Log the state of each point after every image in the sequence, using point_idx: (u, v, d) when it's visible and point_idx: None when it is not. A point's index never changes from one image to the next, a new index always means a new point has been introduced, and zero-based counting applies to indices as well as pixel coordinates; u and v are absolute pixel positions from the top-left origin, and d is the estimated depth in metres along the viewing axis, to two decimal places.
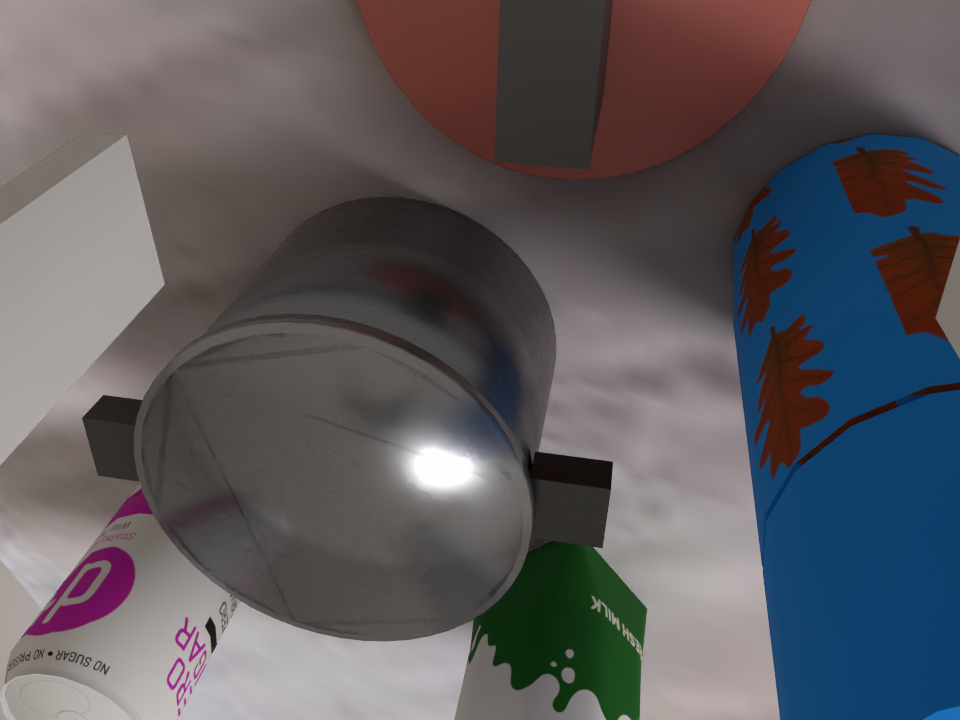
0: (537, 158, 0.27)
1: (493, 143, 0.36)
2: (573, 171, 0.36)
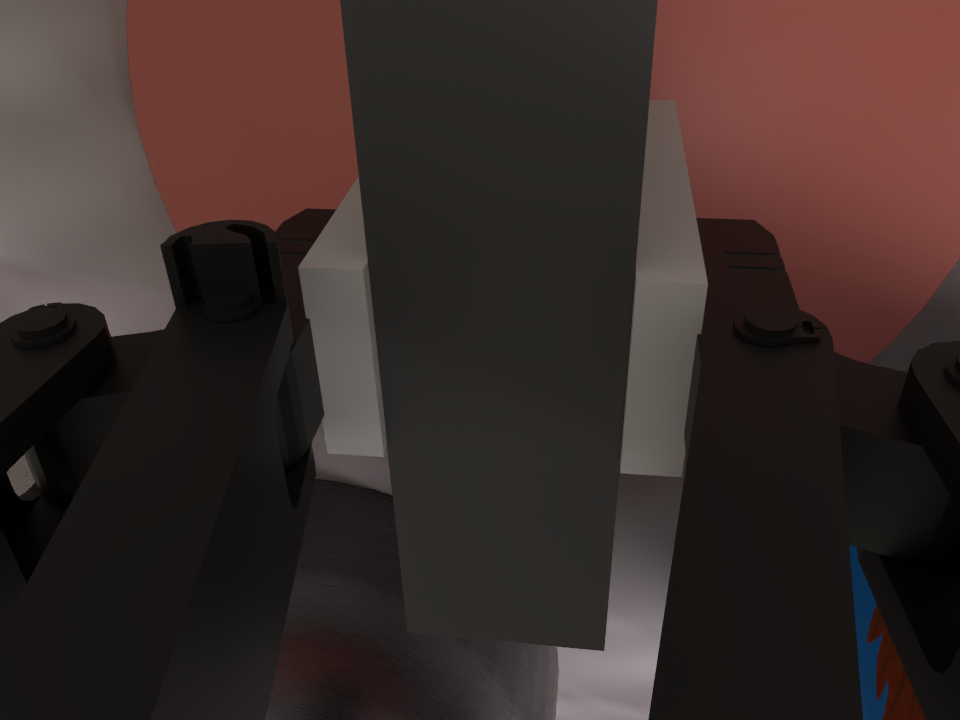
0: (495, 630, 0.13)
1: None
2: None
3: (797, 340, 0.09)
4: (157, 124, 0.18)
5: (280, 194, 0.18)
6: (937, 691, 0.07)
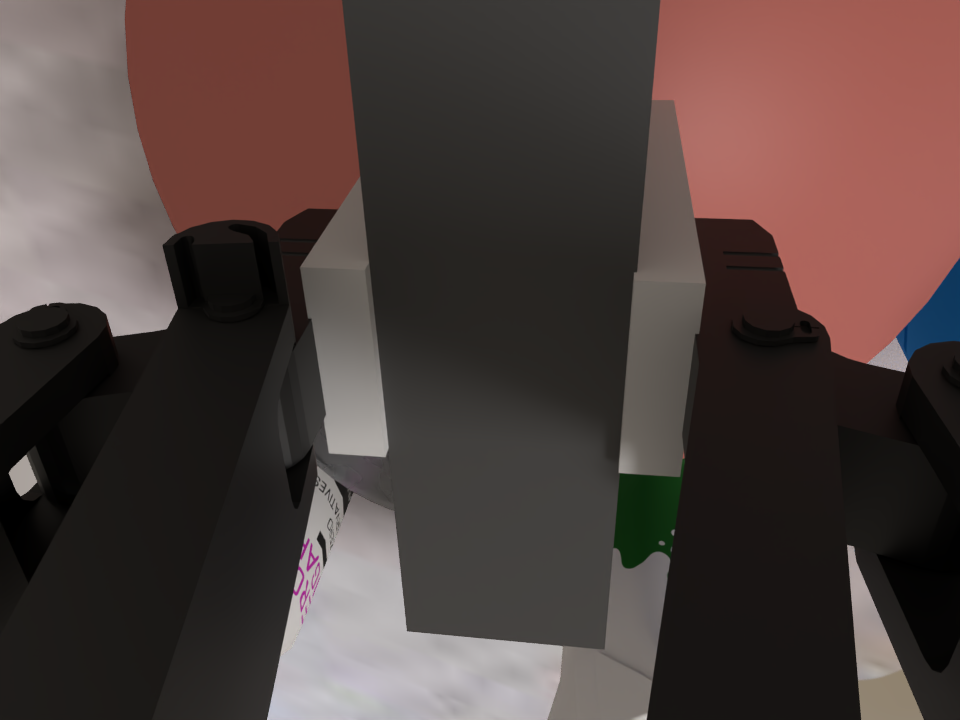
0: (495, 629, 0.13)
1: None
2: None
3: (795, 340, 0.09)
4: (155, 122, 0.18)
5: (279, 192, 0.18)
6: (935, 691, 0.07)
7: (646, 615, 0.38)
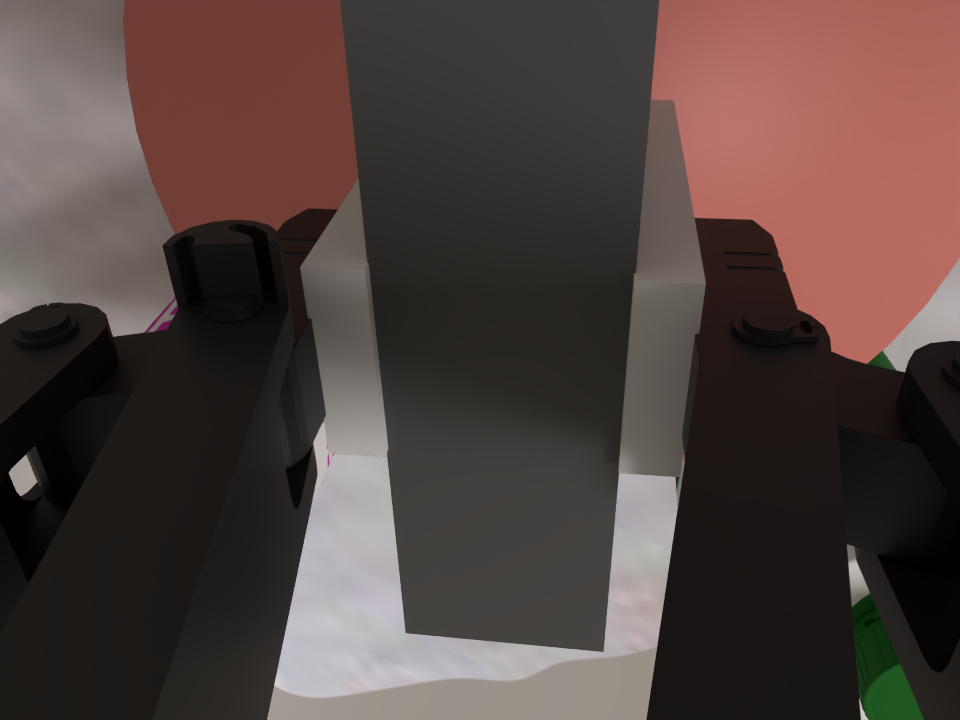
0: (494, 631, 0.13)
1: None
2: None
3: (796, 339, 0.09)
4: (154, 123, 0.18)
5: (278, 193, 0.18)
6: (935, 691, 0.07)
7: None
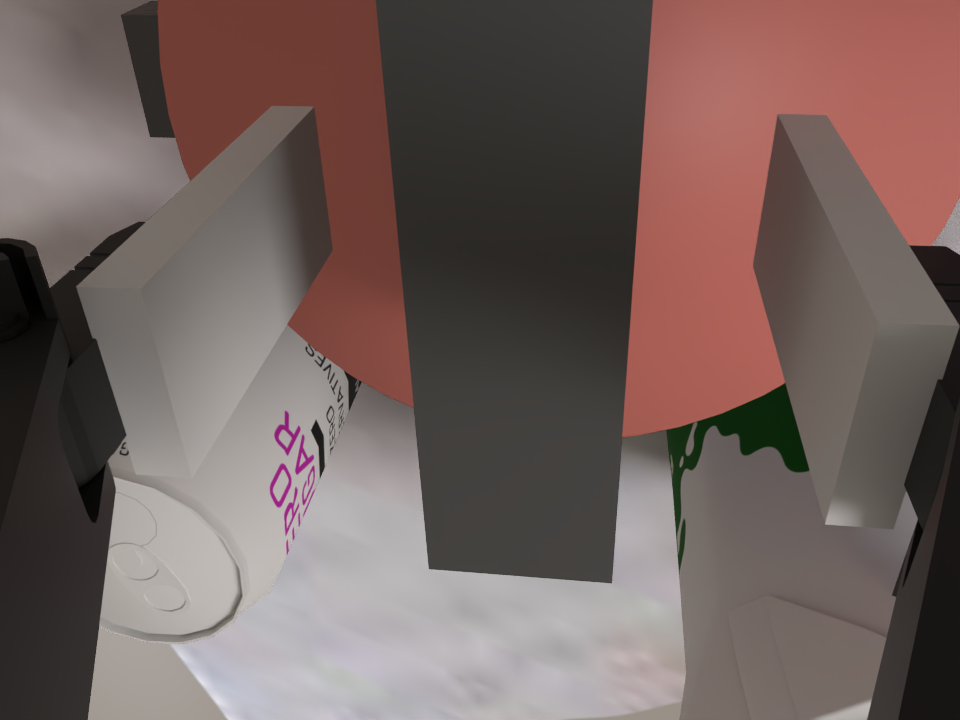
0: (511, 565, 0.14)
1: None
2: None
3: None
4: (185, 107, 0.19)
5: None
6: None
7: (850, 538, 0.23)
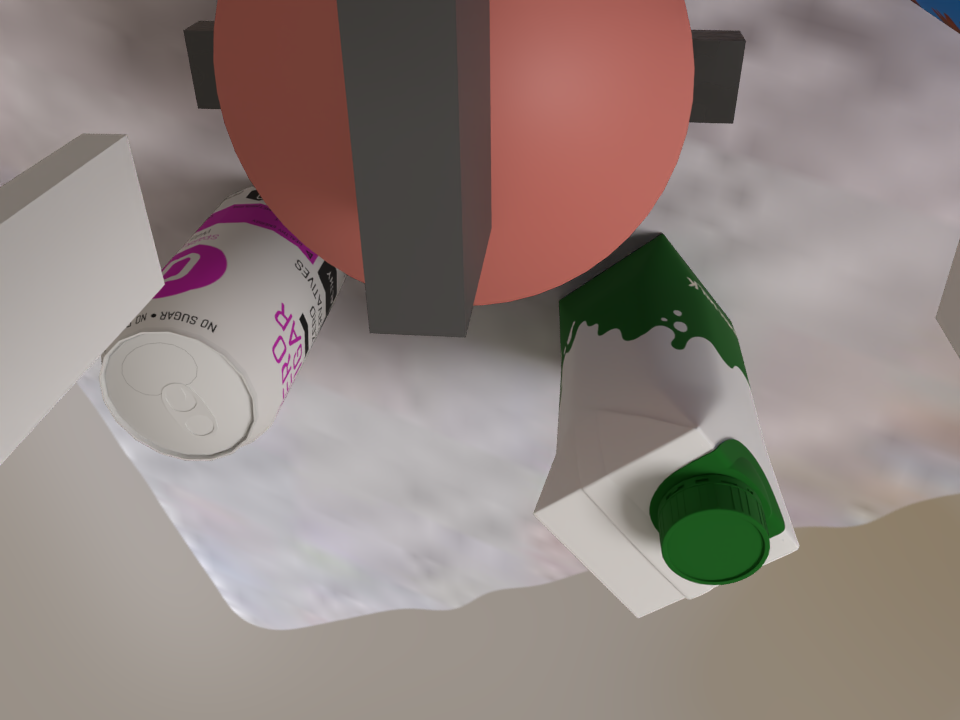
0: (412, 328, 0.27)
1: None
2: None
3: None
4: (228, 88, 0.31)
5: (298, 129, 0.32)
6: None
7: (651, 373, 0.36)
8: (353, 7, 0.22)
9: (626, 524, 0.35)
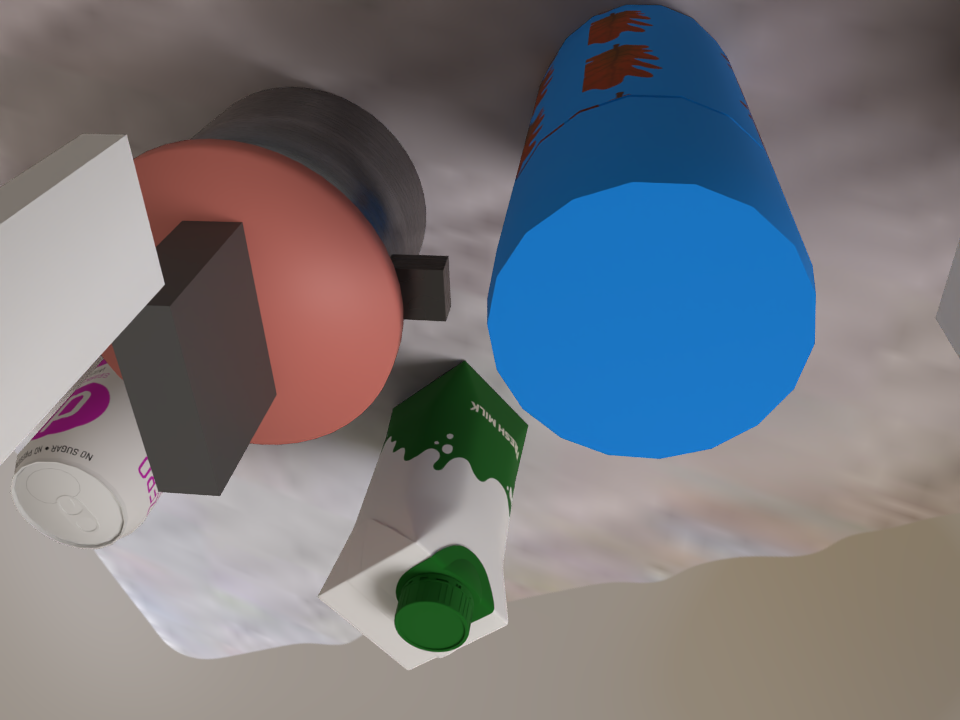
0: (185, 490, 0.40)
1: None
2: (270, 439, 0.48)
3: None
4: None
5: None
6: None
7: (408, 491, 0.49)
8: None
9: (382, 605, 0.48)
